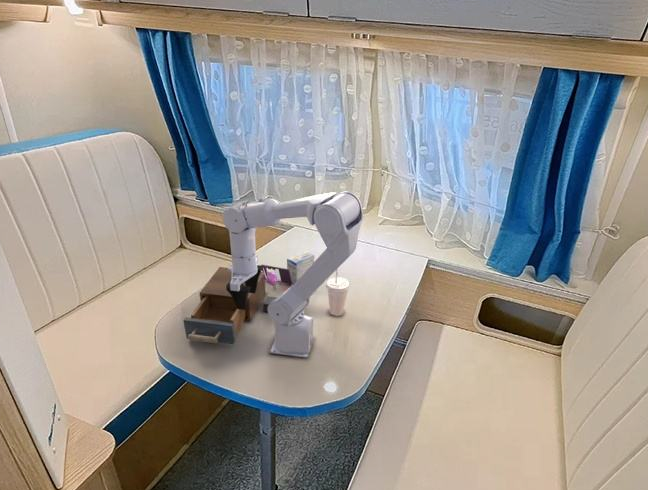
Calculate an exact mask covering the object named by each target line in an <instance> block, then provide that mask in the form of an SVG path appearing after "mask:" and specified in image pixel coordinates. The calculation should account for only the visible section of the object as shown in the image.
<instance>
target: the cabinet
mask: <svg viewBox="0 0 648 490" xmlns="http://www.w3.org/2000/svg"><path fill="white" fill-rule="evenodd" d="M264 274H265V271H264V272H262V271H261V273H260V276H259V279H258V284H257V289H256V293H255V294H254V293H248V297H247V316H246V318H245V319H244V321H243V322H247V323H248V322H249V323H251V322H252V320H253V318H254V316H255V314H256V312H257V311H258V309H259V307H260V306H261V303H262V301H263V299H264V298H265V296H266V280H265V277H266V274H265V275H264ZM231 280H232V272H231V271H228V267H223V266H219V267H218V268H217V269H216V270H215V272H214V274H213V275H212V276H211V277H210V279H208V281H207V282H206V283H205V285H204V286H203V288H201V290H200V291H199V300H200V302H201V301H202V300H203V298H204V297H205V296H211V297H219V298H228V299H233V298H232V296H231V294H230V293H229V292H228V291H227V290H226V286H227V284H228V283H229V282H230V283H231ZM243 284H244V286H246V285H245V282H243Z"/></svg>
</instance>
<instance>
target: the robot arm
mask: <svg viewBox="0 0 648 490" xmlns="http://www.w3.org/2000/svg"><path fill="white" fill-rule="evenodd" d="M336 194H337V195H336ZM295 218H296V219H297V218H307V220H308V222H309V224H310V225H311V226H314V225H315V228H316V230H317V232H318V233H319V235H320V237H321V239H322V241H323V244H325V247H326V248H325V250H324V251H323V252H322V253H321V254H320V255H319V256H318V257H317V258H316V259H315V260H314V263H313V264H312V265H311V266H310V267H309V268H308V270H307V271H306V272H305V273H304V274H303V275H302V276H301V277H300V278H299V279H298V281H297V282H296V283H295V284H294V285H290V286H289V287H288V288H287V289H286V290H285V291H284V292H282V293H281V294H280V295H279V296H277V297H278V298H277V299H276V300H274V301H272V302H271V303H270V304H269V305H268V308H267V310H268V312H267V315H268V316H269V318H270V319H271V320H272V322H273V323H274V324H273V325H274V341H273V343H272V346H271V347H270V348H271V349H270V350H269V353H270V354H273V355H275V354H276V355H282V356H283V355H284V356H291V357H299V358H308V357H309V354H310V351H311V349H312V345H313V343H314V318H313V317H311V316H308V315H306V314H305V309H306V307H307V306H308V305H309V303H310V299H311V297H312V296H313V295H314V293H315V292H316V291H317V290H318V289H319V288H321V286H322V285H323V284H324V283H325V282H327V281H328V280H329V279H330V277H331V276H332V275H333V274H334V273H336V270H337V269H338V270H339V269H340V267H341V266H342V265H343V264H344V263H345V262H346V261H347V260H348V259H349V258H350V257H351V256H352V255H353V254H354V252H355V251H356V249H357V245H358V240H359V234H360V228H361V225H362V223H363V220H364V218H365V215H364V210H363V205H362V202H361V200H360V198H359V197H358V196H357V195H356V194H355V193H353V192H351V191H342V192H339V193H337V192H327V193H322V194H315V195H311V196H305V197H301V198H297V199H291V200H288V201H282V202H278V201H277V200H276V199H274V198H267V196H265V195H264V196H261V197H258V198H257V200H253V201H249V200H247V199H246V200H244V201H241V202H239V203H236V204H234V205H232V206H230V207H227V209H225V210H224V211H223V213H222V223H223V225H224V227H225V228H226V229H227V230H228V231H229V233H228V234H229V240H230V241H229V242H230V243H229V244H230V255H231V256H230V257H231V264H229V266H228V267H227V268H228V271H231V272H232V280H231V283H230V282H229V283H228V284H227V286H226V290H227V291H228V292H229V293H230V294H231V296H232V298H233V300H234V302H235V304H236V307H237V309H241V310H245V309H246V307H247V297H248V293H254V294H255V293H256V289H257V284H258V279H259V276H260V273H261V272H262V269H263V270H264V268H263V267H262V266H261V265H260V264H259V255H257V251H256V230H257V228H264V227H272V226H277V225H278V224H280V222H281V220H282V219H295ZM243 282H245V285H246V286H244V284H243Z"/></svg>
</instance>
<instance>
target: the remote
mask: <svg viewBox="0 0 648 490" xmlns="http://www.w3.org/2000/svg"><path fill="white" fill-rule="evenodd" d="M278 297H279V296H268V295H267V296H266V298H265V300H264V302H263V303H262V305H263V306H262V307H263V313H268V310H267V308H268V305H269V304H270V303H271V302H272V301H274V300H276V299H277V298H278Z"/></svg>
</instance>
